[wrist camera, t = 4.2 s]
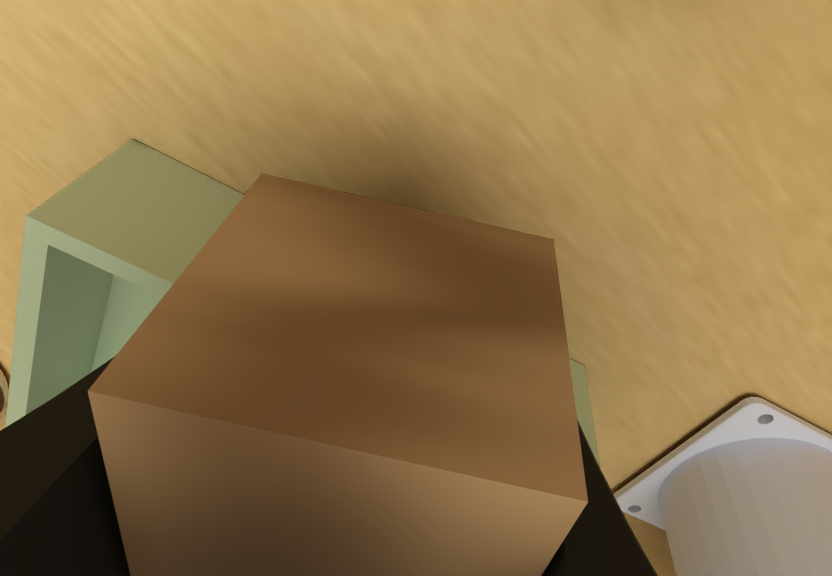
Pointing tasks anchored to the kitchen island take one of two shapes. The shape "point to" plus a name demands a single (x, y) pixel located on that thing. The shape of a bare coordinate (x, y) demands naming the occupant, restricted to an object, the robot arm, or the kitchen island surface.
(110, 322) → the tote
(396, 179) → the kitchen island surface
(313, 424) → the cube
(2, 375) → the supplement bottle
